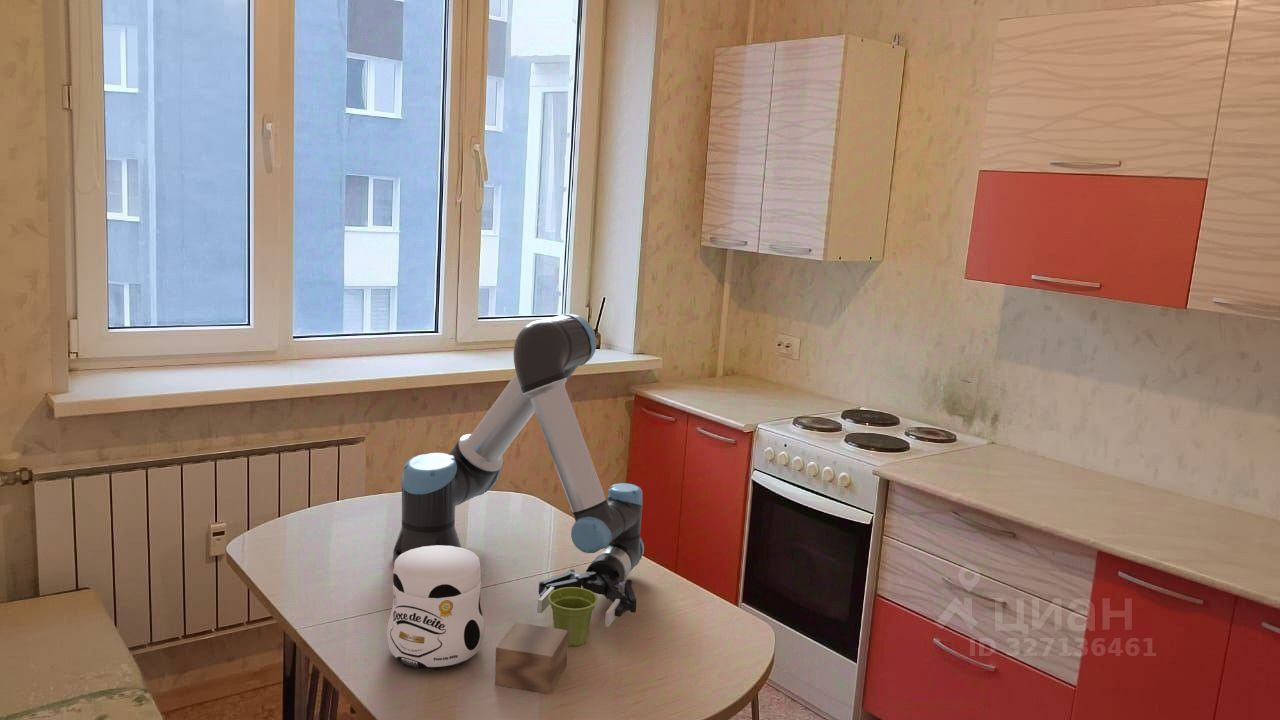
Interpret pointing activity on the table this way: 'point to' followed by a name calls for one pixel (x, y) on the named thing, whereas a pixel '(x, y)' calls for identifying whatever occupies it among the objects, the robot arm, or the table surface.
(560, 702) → the table surface
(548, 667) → the walnut block
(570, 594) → the plant pot
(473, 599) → the milk container
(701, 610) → the table surface
